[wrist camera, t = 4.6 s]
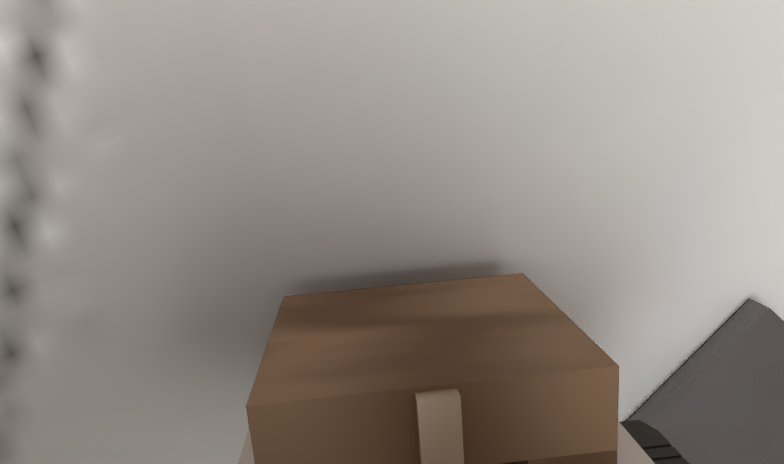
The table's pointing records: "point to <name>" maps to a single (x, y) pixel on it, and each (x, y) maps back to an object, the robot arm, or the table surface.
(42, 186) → the table surface
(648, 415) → the metal panel
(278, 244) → the table surface
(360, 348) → the brown cardboard box
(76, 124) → the table surface
